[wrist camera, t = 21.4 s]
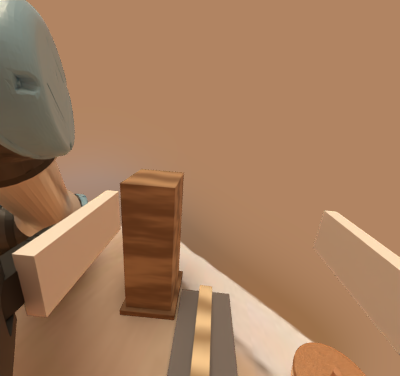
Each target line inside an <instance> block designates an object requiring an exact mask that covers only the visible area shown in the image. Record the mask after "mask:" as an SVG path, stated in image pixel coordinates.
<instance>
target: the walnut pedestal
mask: <svg viewBox="0 0 400 376" xmlns="http://www.w3.org/2000/svg"><path fill="white" fill-rule="evenodd" d="M183 174H184V173H182V172H170V171H157V170H146V169H141V170H140V171H138V172H137V173H135V174H133V175H132V176H130V177H129V178H128V179H126V180H124V181H123V182H121V183H120V192H121V213H122V234H123V254H124V275H125V296H126V298H125V300H124V302H123V304H122V307H121V309H120V314H121V315H130V316H140V317H150V318H159V319H169V320H174V317H175V312H176V307H177V301H178V296H179V291H180V285H181V280H182V274H183V271H179V256H180V235H181V216H182V215H181V214H182V196H183V176H184V175H183Z"/></svg>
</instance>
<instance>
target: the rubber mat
mask: <svg viewBox="0 0 400 376" xmlns="http://www.w3.org/2000/svg"><path fill="white" fill-rule="evenodd" d="M198 298H199V291H193V290H183V289H182V293H181V299H180V304H179V310H178V316H177V322H176V328H175V333H174V339H173V345H172V351H171V356H170V362H169V368H168V374H167V376H190V372H191V363H192V354H193V344H194V335H195V326H196V316H197V307H198ZM209 376H238V374H237V364H236V355H235V346H234V336H233V327H232V317H231V308H230V299H229V294H224V293H214V292H212V305H211V336H210V368H209Z"/></svg>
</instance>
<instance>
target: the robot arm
mask: <svg viewBox="0 0 400 376" xmlns="http://www.w3.org/2000/svg"><path fill="white" fill-rule="evenodd" d="M73 144H74V120H73V111H72V105H71V100H70V96H69V93H68V90H67V87H66V78H65V74H64V70H63V67H62V64H61V60H60V57H59V54H58V51H57V48H56V46H55V43H54V41H53V38H52V36H51V34H50V32H49V29H48V28H47V26H46V24H45V22H44V21H43V19H42V17H41V16H40V14H39V13H38V12H37V11H36V9H35V8H34V7H33V6H32V5H30V4H29V3H28V2H27V1H26V0H0V376H13V362H14V349H15V336H16V322H17V318H16V315H15V312H16V311H17V310H18V309H19V308H20V307H21V306H22V305H23V304H24V305H25V309H26V313H27V315H29V316H38V317H48V315H49V314H50V313H51V312H52V311H53V309H54V308H55V307H56V306H57V305H58V303H59V302H60V301H61V300H62V299H63V297H64V296H65V295H66V294H67V293H68V291H69V290H70V289H71V288H72V287H73V285H74V284H75V283H76V282H77V281H78V279H79V278H80V277H81V276H82V275H83V274H84V272H85V271H86V270H87V269H88V268H89V266H90V265H91V264H92V263H93V262H94V260H95V259H96V258H97V257H98V256H99V254H100V253H101V252H102V251H103V250H104V248H105V247H106V246H107V245H108V244H109V242H110V241H111V240H112V239H113V238H114V236H115V235H116V234H117V233H118V232H119V230H120V211H119V192H118V191H105V192H104V193H102V194H101V195H99V196H98V197H96V198H95V199H93V200H92V201H90V202H89V203H88V201H87V198H86V196H85V195H83V194H73V193H72V192H70V191H69V190H67V189H66V187H65V184H64V182H63V179H62V177H61V174H60V171H59V169H58V166H57V163H56V161H55V160H56V158H57V157H58V156H63V155H66V154H67V153H68V152H69V151H70V150H72V147H73ZM313 248H314V249H315V251H316V252H317V253H318V255H319V256H320V257H321V258H322V260H323V261H324V262H325V263H326V265H327V266H328V267H329V268H330V270H331V271H332V272H333V273H334V274H335V276H336V277H337V278H338V279H339V281H340V282H341V283H342V284H343V286H344V287H345V288H346V289H347V291H348V292H349V293H350V294H351V296H352V297H353V298H354V299H355V301H356V302H357V303H358V304H359V306H360V307H361V308H362V309H363V311H364V312H365V313H366V314H367V315H368V317H369V318H370V319H371V320H372V322H373V323H374V324H375V325H376V327H377V328H378V329H379V330H380V332H381V333H382V334H383V335H384V336H385V338H386V339H387V340H388V341H389V343H390V344H391V345H392V346H393V348H394V349H395V350H396V351H397V353H398V354H399V355H400V257H398V256H397V255H396V254H394V253H393V252H392V251H390V250H389V249H387V248H386V247H384V246H383V245H382V244H381V243H379V242H378V241H376V240H375V239H374V238H372V237H371V236H369V235H368V234H366V233H365V232H364V231H363V230H361V229H360V228H358V227H357V226H355V225H354V224H353V223H351V222H350V221H349V220H347V219H346V218H344V217H343V216H342V215H340V214H339V213H338V212H335V211H324V212H323V216H322V219H321V222H320V226H319V229H318V233H317V236H316V239H315V243H314V246H313Z"/></svg>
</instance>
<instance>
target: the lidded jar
mask: <svg viewBox="0 0 400 376" xmlns="http://www.w3.org/2000/svg"><path fill="white" fill-rule="evenodd" d="M291 376H365V374H364V373H363V372H362V371H361V370H360V369H359V368H358V367H357V365H356V364H355V363H353V362H352V361H351V360H350V359H349V358H347V357H346V356H345V355H344V354H342V353H341V352H339V351H337V350H336V349H334V348H332V347H330V346H327V345H324V344H321V343H306V344H303V345H302V346H300V347H299V348H298V349H297V351H296V353H295V355H294V359H293V365H292V370H291Z"/></svg>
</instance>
